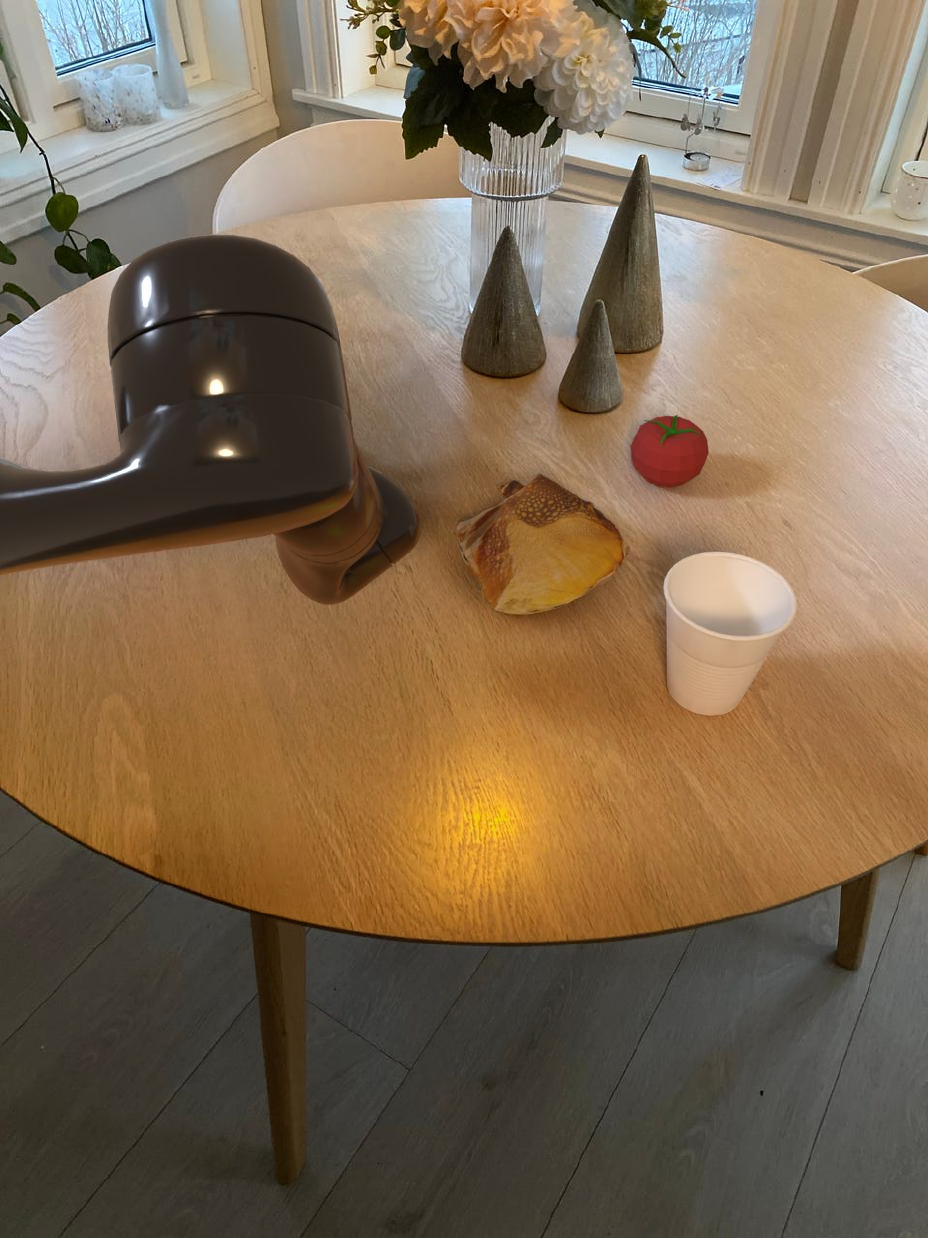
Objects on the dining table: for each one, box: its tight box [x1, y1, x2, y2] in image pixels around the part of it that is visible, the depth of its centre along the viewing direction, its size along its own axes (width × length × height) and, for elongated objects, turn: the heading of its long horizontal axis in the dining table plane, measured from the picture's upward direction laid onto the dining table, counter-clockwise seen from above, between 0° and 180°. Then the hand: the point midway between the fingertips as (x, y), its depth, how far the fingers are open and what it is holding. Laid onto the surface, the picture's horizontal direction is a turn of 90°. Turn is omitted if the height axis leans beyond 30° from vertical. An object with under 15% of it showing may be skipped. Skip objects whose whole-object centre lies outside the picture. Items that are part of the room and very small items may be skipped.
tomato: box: [630, 414, 710, 488], centre depth 99 cm, size 8×8×8 cm
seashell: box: [452, 473, 631, 616], centre depth 90 cm, size 17×8×15 cm
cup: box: [663, 551, 798, 717], centre depth 76 cm, size 10×10×11 cm
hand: (202, 346), depth 90 cm, fingers open, 8 cm apart
